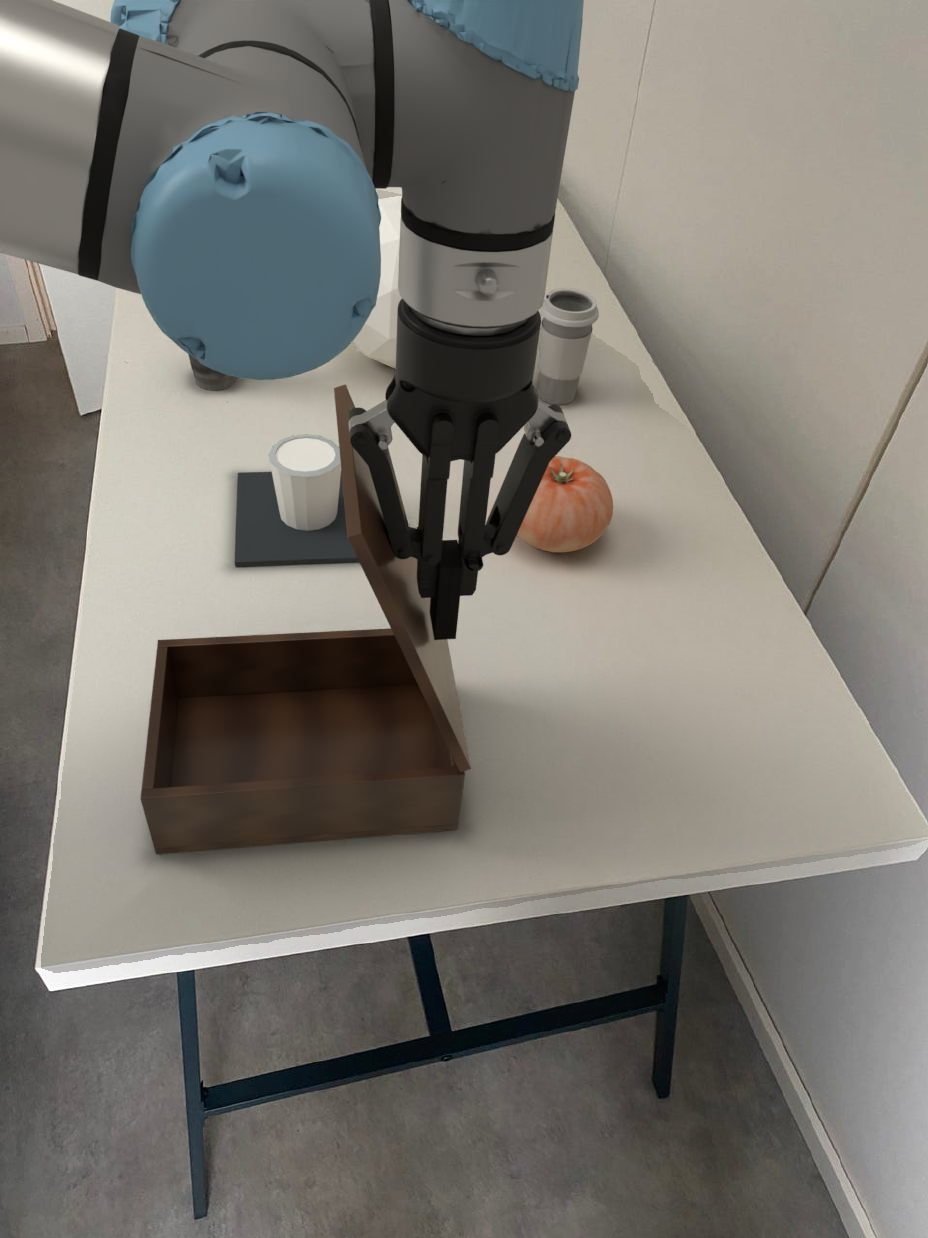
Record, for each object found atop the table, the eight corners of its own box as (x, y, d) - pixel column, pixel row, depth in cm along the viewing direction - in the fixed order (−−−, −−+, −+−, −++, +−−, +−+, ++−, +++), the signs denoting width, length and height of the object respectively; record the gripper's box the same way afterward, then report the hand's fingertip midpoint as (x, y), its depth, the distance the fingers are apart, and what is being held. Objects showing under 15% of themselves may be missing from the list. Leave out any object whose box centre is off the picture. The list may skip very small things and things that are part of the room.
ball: (434, 390, 127) (534, 267, 120) (402, 419, 109) (518, 276, 101) (321, 291, 125) (416, 159, 117) (270, 304, 106) (378, 148, 99)
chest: (155, 855, 68) (140, 799, 63) (170, 697, 78) (157, 639, 73) (458, 830, 71) (465, 775, 67) (434, 682, 81) (438, 625, 77)
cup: (532, 374, 119) (545, 281, 110) (585, 383, 118) (603, 290, 110) (524, 405, 113) (537, 310, 105) (580, 414, 113) (598, 319, 105)
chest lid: (347, 537, 50) (361, 533, 50) (333, 387, 60) (345, 383, 60) (460, 772, 66) (471, 769, 66) (434, 623, 76) (443, 620, 76)
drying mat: (235, 566, 90) (234, 562, 89) (238, 476, 100) (237, 472, 99) (385, 561, 92) (385, 556, 92) (373, 473, 102) (373, 468, 101)
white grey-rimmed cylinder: (261, 524, 94) (255, 465, 89) (290, 485, 98) (287, 426, 93) (327, 541, 92) (325, 482, 88) (353, 500, 97) (353, 442, 92)
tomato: (477, 520, 97) (484, 455, 92) (561, 490, 102) (573, 426, 97) (541, 584, 91) (552, 518, 86) (627, 548, 96) (644, 483, 90)
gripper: (348, 338, 46) (350, 671, 63) (610, 338, 48) (545, 660, 65) (339, 268, 51) (344, 592, 68) (576, 271, 53) (524, 584, 70)
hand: (442, 625), depth 66 cm, fingers closed
